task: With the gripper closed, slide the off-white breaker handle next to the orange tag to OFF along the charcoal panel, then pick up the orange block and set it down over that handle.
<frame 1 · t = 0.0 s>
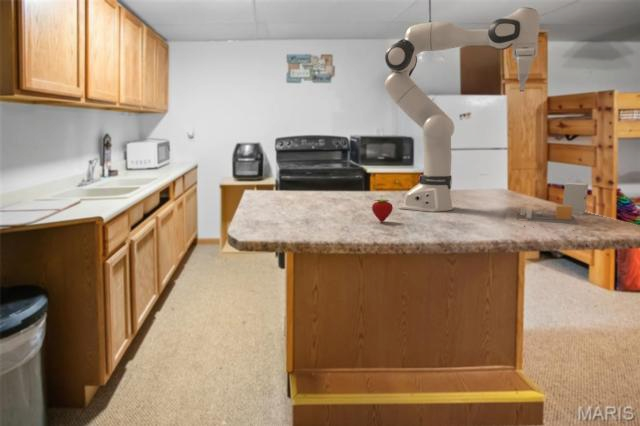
hand: (522, 90, 189), 48 cm above the countertop, tool pointing down, fingers open, 8 cm apart
orange block: (563, 217, 182), point 1 cm above the countertop, touching breaker panel
supplement box: (573, 215, 194), on the countertop
breaker panel: (545, 220, 182), on the countertop
strawberry: (381, 222, 179), on the countertop
untagged breaker: (522, 210, 187), point 3 cm above the countertop, slide at 0.0 cm
tagged breaker: (529, 213, 181), point 3 cm above the countertop, slide at 0.0 cm
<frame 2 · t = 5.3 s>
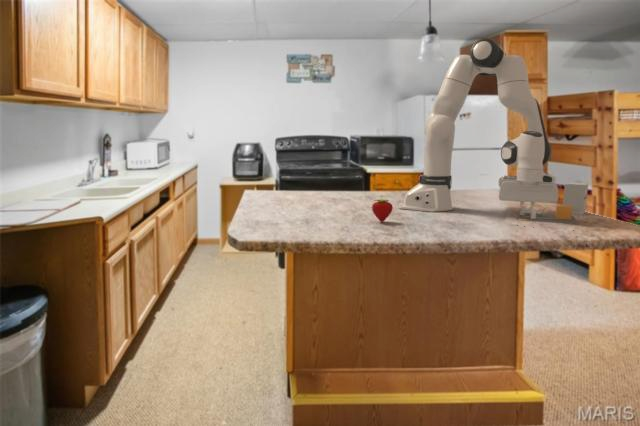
hand: (526, 213, 181), 3 cm above the countertop, tool pointing down, fingers closed
tagged breaker: (533, 213, 180), point 3 cm above the countertop, slide at 1.5 cm, touching gripper
everything else where it was.
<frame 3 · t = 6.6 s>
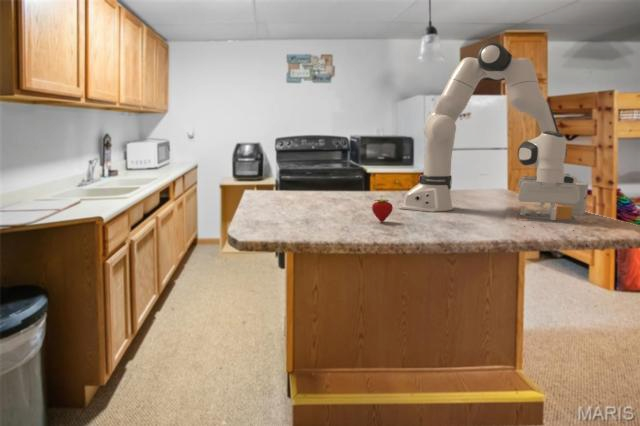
hand: (546, 214, 179), 3 cm above the countertop, tool pointing down, fingers closed
tagged breaker: (553, 214, 178), point 3 cm above the countertop, slide at 8.1 cm, touching gripper
everything else where it was.
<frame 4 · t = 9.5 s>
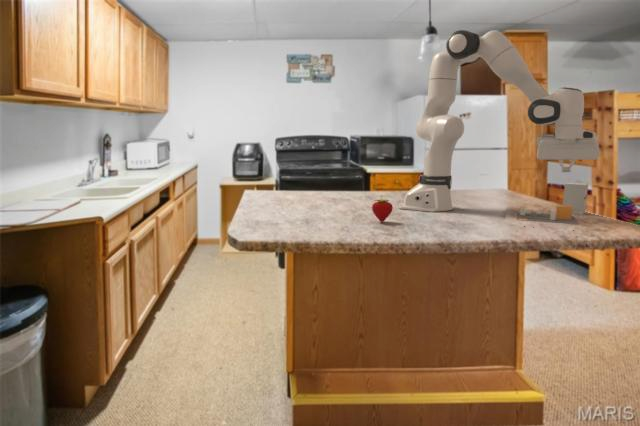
hand: (565, 172, 179), 18 cm above the countertop, tool pointing down, fingers closed
tagged breaker: (553, 214, 178), point 3 cm above the countertop, slide at 8.1 cm
everything else where it was.
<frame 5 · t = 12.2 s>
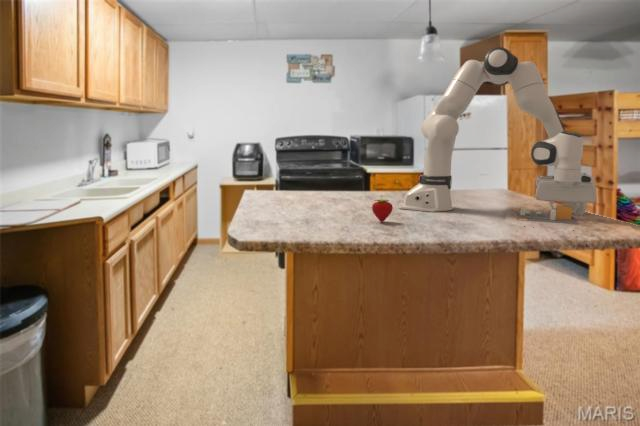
hand: (563, 213, 182), 3 cm above the countertop, tool pointing down, fingers closed on orange block, 5 cm apart
orange block: (563, 217, 182), point 1 cm above the countertop, touching breaker panel, gripper
everything else where it was.
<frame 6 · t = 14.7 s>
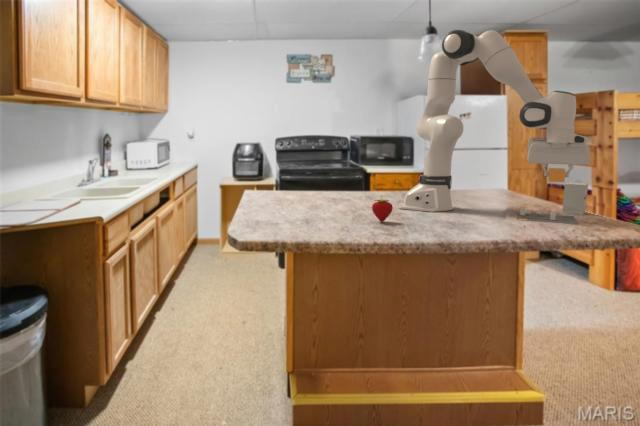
hand: (556, 176, 176), 17 cm above the countertop, tool pointing down, fingers closed on orange block, 5 cm apart
orange block: (555, 181, 176), point 15 cm above the countertop, touching gripper
everything else where it was.
when the fingers open (4 cm above the countertop, at t = 17.3 s): orange block drops 2 cm, resting on breaker panel.
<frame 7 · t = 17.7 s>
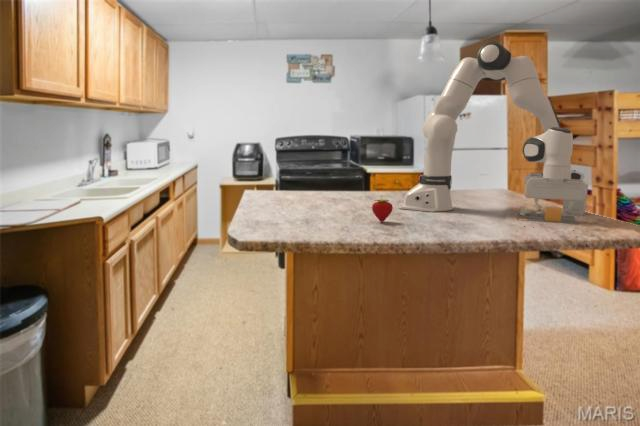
hand: (553, 211, 178), 4 cm above the countertop, tool pointing down, fingers open, 8 cm apart
orange block: (552, 219, 178), point 1 cm above the countertop, touching breaker panel
everything else where it was.
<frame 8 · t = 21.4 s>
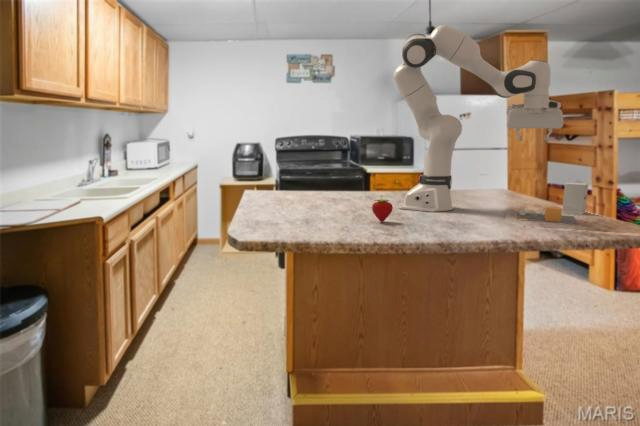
hand: (533, 140, 192), 29 cm above the countertop, tool pointing down, fingers open, 8 cm apart
nothing on the countertop moved.
at the end: tagged breaker slide at 8.1 cm; orange block 0.1 cm from the target spot, point 1.0 cm above the countertop; orange block tilted 0° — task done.
